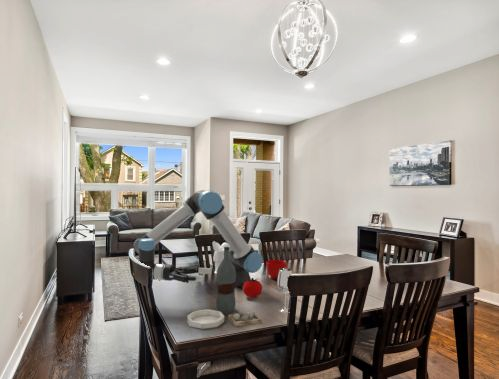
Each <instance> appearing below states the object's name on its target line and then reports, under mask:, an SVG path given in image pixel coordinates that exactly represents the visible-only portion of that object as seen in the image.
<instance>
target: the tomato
mask: <svg viewBox="0 0 499 379" xmlns="http://www.w3.org/2000/svg"><path fill="white" fill-rule="evenodd" d="M250 278H251V280H250V279H248V281H246V282H245V283H244V285H243V287H242V292H243V293H244V295H245V296H246V297H248V298H252V299H253V298H257V297H260V295H261V294H262V292H263V285H262V283H261V281H259V280H258V278H256V279H254V277H250Z"/></svg>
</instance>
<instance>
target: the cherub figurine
mask: <svg viewBox="0 0 499 379" xmlns="http://www.w3.org/2000/svg"><path fill="white" fill-rule="evenodd" d="M224 247H229V248H230V246H229V245H228V243H227V242H223V243H222V244H220V243H219V242H217V241H215V240H213V241H212V248H213V251H214V253H213V258H212V260H213V262H214V267H215V271H214V273H213V274H215V275H217V270H218V267H219V265H220V264H221V262H222V261H223V259H224Z"/></svg>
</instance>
